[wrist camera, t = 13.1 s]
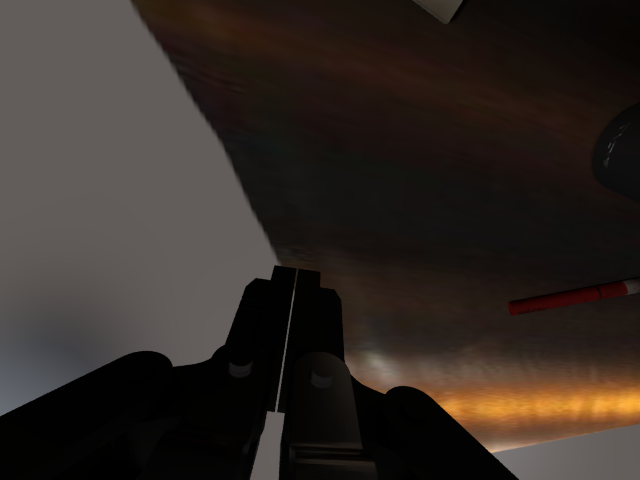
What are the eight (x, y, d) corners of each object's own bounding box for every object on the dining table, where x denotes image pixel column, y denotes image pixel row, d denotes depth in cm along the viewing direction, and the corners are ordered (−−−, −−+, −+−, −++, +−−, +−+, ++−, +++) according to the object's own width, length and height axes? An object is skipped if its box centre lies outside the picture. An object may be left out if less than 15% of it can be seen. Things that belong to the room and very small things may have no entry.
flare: (635, 286, 44) (646, 294, 42) (507, 309, 46) (513, 318, 44) (637, 274, 43) (648, 282, 41) (507, 299, 45) (513, 307, 43)
